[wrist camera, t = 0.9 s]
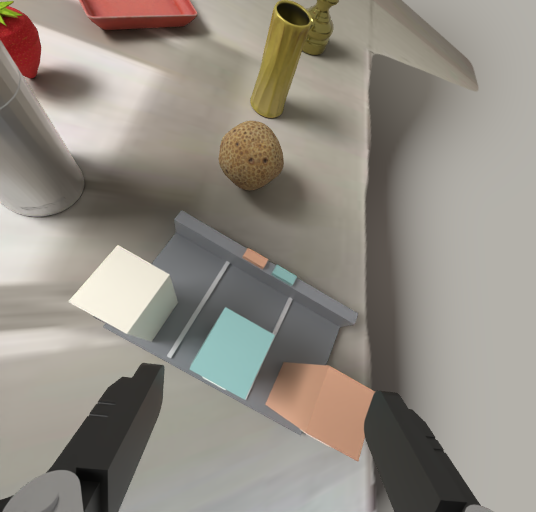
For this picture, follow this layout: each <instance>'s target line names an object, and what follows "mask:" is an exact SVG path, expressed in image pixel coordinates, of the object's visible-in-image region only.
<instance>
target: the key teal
mask: <svg viewBox="0 0 536 512" xmlns="http://www.w3.org/2000/svg"><path fill="white" fill-rule="evenodd" d="M274 336H275V335H274V334H272V333H270V332H268V331H267V330H265V329H263V328H261V327H260V326H258V325H256V324H254V323H253V322H251V321H249V320H247V319H246V318H244V317H242V316H240V315H239V314H237V313H235V312H233V311H232V310H230V309H228V308H226V307H225V309H224V310H223V312H222V313H221V315H220V316H219V318H218V319H217V321H216V322H215V324H214V326H213V327H212V329H211V331H210V332H209V334H208V336H207V338H206V339H205V341H204V343H203V344H202V346H201V348H200V350H199V351H198V353H197V355H196V356H195V358H194V360H193V362H192V363H191V366H190V370H192V371H193V372H195V373H197V374H199V375H201V376H202V377H203V378H204V379H206V380H208V381H209V382H211V383H213V384H215V385H217V386H218V387H220V388H222V389H224V390H228V391H230V392H231V393H233V394H235V395H237V396H239V397H241V398H242V399H244V400H245V398H246V396H247V394H248V392H249V390H250V388H251V386H252V383H253V381H254V379H255V377H256V375H257V373H258V371H259V368H260V366H261V364H262V362H263V360H264V358H265V356H266V353H267V351H268V349H269V347H270V345H271V343H272V341H273V338H274Z"/></svg>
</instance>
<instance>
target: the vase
mask: <svg viewBox="0 0 536 512" xmlns="http://www.w3.org/2000/svg"><path fill="white" fill-rule="evenodd" d="M311 23H312V19H311V15H310V13H309V12H308V11H307V10H306V9H305V8H304V7H302V6H301V5H299V4H298V3H296V2H293V1H289V0H281V1H278V2H277V3H276V5H275V7H274V10H273V14H272V19H271V23H270V27H269V32H268V36H267V40H266V45H265V49H264V53H263V59H262V63H261V68H260V71H259V75H258V78H257V81H256V84H255V87H254V90H253V93H252V96H251V100H250V102H251V106H252V107H253V109H254V110H255V111H256V112H257V113H258V114H260V115H262V116H264V117H267V118H275V117H278V116H280V115H281V114H282V112H283V108H284V104H285V101H286V97H287V94H288V91H289V89H290V86H291V83H292V79H293V76H294V74H295V71H296V68H297V64H298V61H299V58H300V55H301V52H302V49H303V46H304V43H305V40H306V38H307V35H308V32H309V29H310V26H311Z"/></svg>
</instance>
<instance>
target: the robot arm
mask: <svg viewBox="0 0 536 512" xmlns="http://www.w3.org/2000/svg"><path fill="white" fill-rule="evenodd" d="M83 189H84V177H83V174H82V172H81V170H80V168H79V167H78V165H77V163H76V162H75V160H74V159H73V157H72V155H71V154H70V152H69V150H68V148H67V147H66V145H65V144H64V142H63V140H62V139H61V137H60V135H59V134H58V132H57V131H56V129H55V127H54V126H53V124H52V122H51V121H50V119H49V118H48V116H47V114H46V113H45V111H44V109H43V108H42V106H41V105H40V103H39V101H38V100H37V98H36V96H35V95H34V93H33V92H32V90H31V88H30V87H29V85H28V83H27V82H26V80H25V78H24V77H23V75H22V74H21V72H20V70H19V69H18V67H17V65H16V64H15V62H14V61H13V59H12V58H11V56H10V54H9V53H8V51H7V50H6V48H5V46H4V45H3V43H2V41H1V40H0V203H1V204H3V205H4V206H5V207H6V208H8V209H10V210H11V211H13V212H15V213H18V214H21V215H25V216H33V217H38V216H48V215H53V214H56V213H59V212H62V211H63V210H65V209H67V208H69V207H70V206H71V205H73V204H74V203H75V202H76V201H77V200H78V199H79V197H80V196H81V194H82V192H83ZM163 384H164V365H156V364H148V363H142V364H141V365H140V366H139V368H138V369H137V371H136V373H135V374H134V376H133V377H132V378H129V377H122V378H120V379H119V380H118V381H116V382H115V383H114V384H112V385H111V386H110V387H108V388H107V390H106V391H105V393H104V394H103V395H102V397H101V398H100V400H99V401H98V404H96V405H95V407H94V408H93V409H92V411H91V412H90V415H89V416H87V418H86V419H85V421H84V422H83V423H82V425H81V426H80V428H79V429H78V430H77V432H76V433H75V435H74V436H73V438H72V439H71V440H70V442H69V443H68V445H67V446H66V447H65V449H64V450H63V452H62V453H61V454H60V456H59V457H58V459H57V460H56V461H55V463H54V464H53V465H52V467H51V468H50V469H49V470H48V471H47V472H46V473H45V474H43V475H41V476H39V477H37V478H35V479H33V480H32V481H30V482H29V483H27V484H26V485H25V486H23V487H22V488H21V489H20V490H19V491H18V492H17V493H16V494H15V495H13V496H11V497H8V498H5V499H2V500H0V512H118V511H119V508H120V506H121V504H122V501H123V499H124V497H125V494H126V492H127V490H128V487H129V485H130V482H131V480H132V478H133V475H134V473H135V471H136V468H137V466H138V463H139V461H140V459H141V456H142V454H143V452H144V449H145V447H146V444H147V442H148V440H149V437H150V435H151V433H152V430H153V428H154V425H155V423H156V421H157V418H158V416H159V413H160V409H161V405H162V399H163ZM364 434H365V438H366V441H367V444H368V446H369V449H370V451H371V454H372V456H373V459H374V461H375V464H376V467H377V469H378V472H379V474H380V477H381V479H382V482H383V484H384V487H385V489H386V492H387V494H388V497H389V499H390V502H391V504H392V507H393V509H394V512H493V511H491V510H490V509H488V508H485V507H483V506H481V505H480V504H479V502H478V501H477V499H476V498H475V496H474V495H473V493H472V492H471V490H470V489H469V487H468V486H467V484H466V483H465V481H464V480H463V478H462V477H461V475H460V474H459V472H458V471H457V469H456V468H455V466H454V465H453V463H452V462H451V460H450V459H449V457H448V456H447V454H446V453H444V451H443V448H442V447H441V445H440V444H439V442H438V441H437V440H436V439H435V436H434V435H433V433H432V432H431V430H430V429H429V427H428V426H427V424H426V423H425V422H424V421H423V420H422V419H421V418H420V417H419V416H418V415H417V414H416V413H415V412H414V411H413V410H411V409H408V408H407V406H406V404H405V403H404V402H403V400H402V398H401V397H400V395H399V394H398V393H393V392H385V391H376V392H375V393H374V395H373V397H372V400H371V403H370V406H369V409H368V412H367V415H366V418H365V421H364Z"/></svg>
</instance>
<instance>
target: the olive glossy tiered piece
mask: <svg viewBox="0 0 536 512" xmlns="http://www.w3.org/2000/svg"><path fill="white" fill-rule="evenodd" d="M338 2H339V0H317V3H316V4H315V5H314V6H311V7H310V8H307V9H306V10H307V11H308V12H309V13H310V15H311V19H312V23H311V26H310V29H309V32H308V35H307V38H306V40H305V43H304V46H303V49H302V51H304V52H305V53H308V54H311V55H319V54H322V53H323V52H324V50H325V48H326V45H327V43H328V42H329V37H330V36H331V34H332V32H333V29H334V26H333V22H332V20H331V17H330V14H329V8H330V7H331V6H333V5H336V4H337V3H338Z"/></svg>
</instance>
